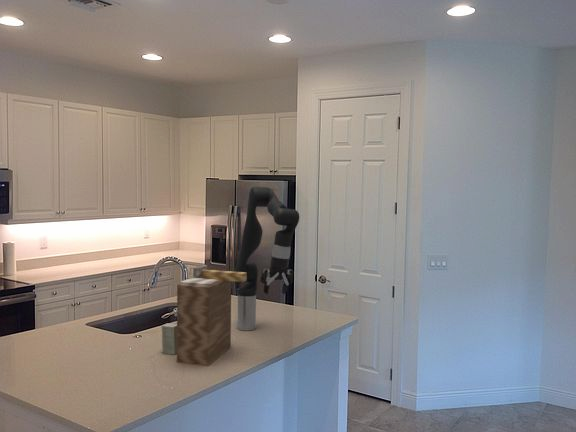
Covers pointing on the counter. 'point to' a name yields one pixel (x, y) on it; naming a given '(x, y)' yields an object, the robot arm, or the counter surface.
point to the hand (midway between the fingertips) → (274, 293)
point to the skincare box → (169, 338)
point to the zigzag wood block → (203, 320)
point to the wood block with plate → (218, 274)
